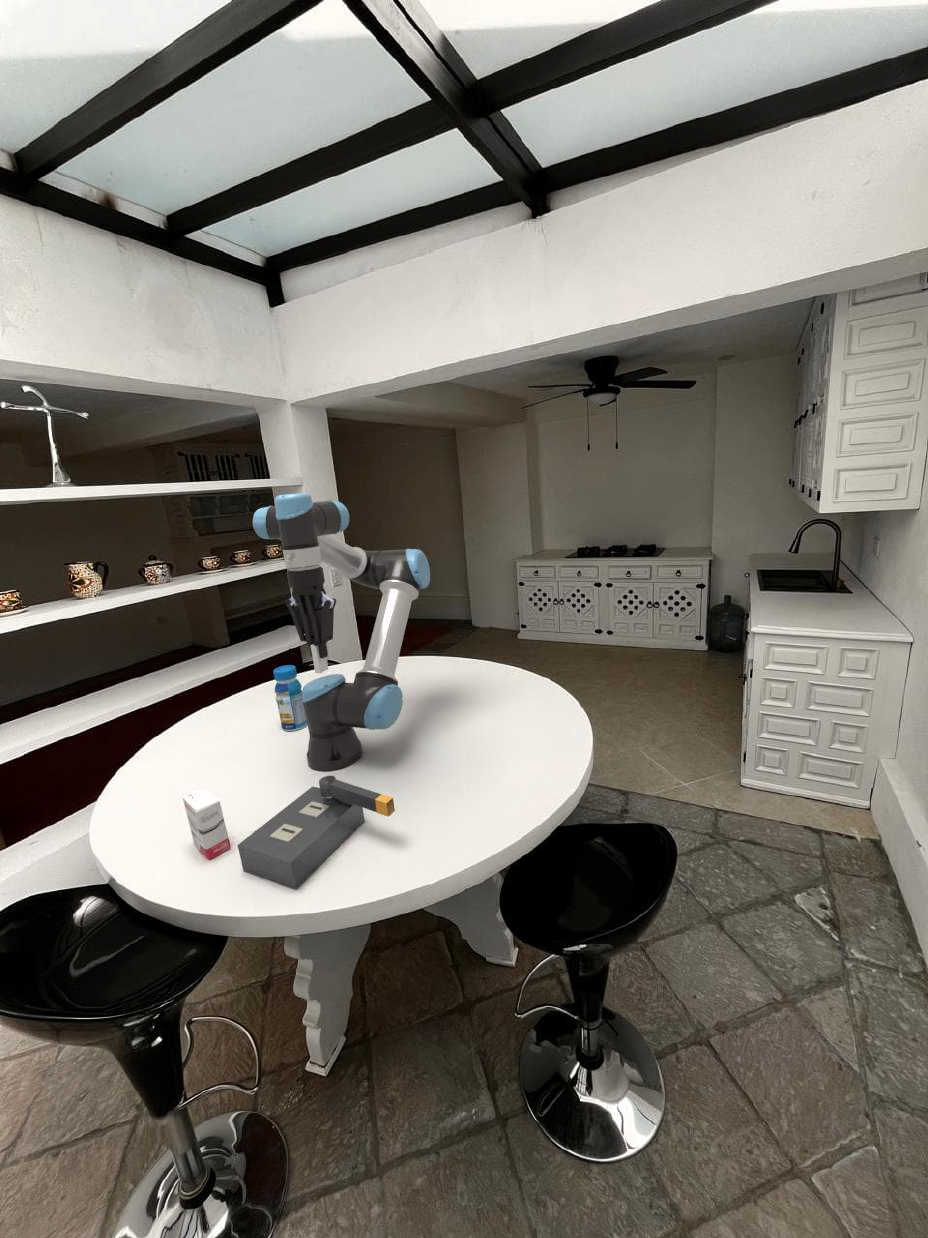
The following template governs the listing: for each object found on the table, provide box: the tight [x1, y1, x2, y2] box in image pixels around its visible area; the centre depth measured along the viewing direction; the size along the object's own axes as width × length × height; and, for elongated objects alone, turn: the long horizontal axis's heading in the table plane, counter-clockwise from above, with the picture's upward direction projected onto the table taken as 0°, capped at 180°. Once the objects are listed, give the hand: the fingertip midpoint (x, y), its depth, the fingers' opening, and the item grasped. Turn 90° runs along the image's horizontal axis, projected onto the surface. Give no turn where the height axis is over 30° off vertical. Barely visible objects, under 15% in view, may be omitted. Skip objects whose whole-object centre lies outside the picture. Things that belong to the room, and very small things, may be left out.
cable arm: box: [318, 775, 396, 818], centre depth 106 cm, size 4×20×3 cm, turn 58°
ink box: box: [182, 787, 232, 861], centre depth 106 cm, size 8×5×12 cm, turn 47°
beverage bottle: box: [273, 664, 308, 732], centre depth 161 cm, size 8×8×20 cm
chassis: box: [237, 786, 366, 891], centre depth 104 cm, size 14×21×7 cm, turn 154°
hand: (321, 671), depth 113 cm, fingers closed
